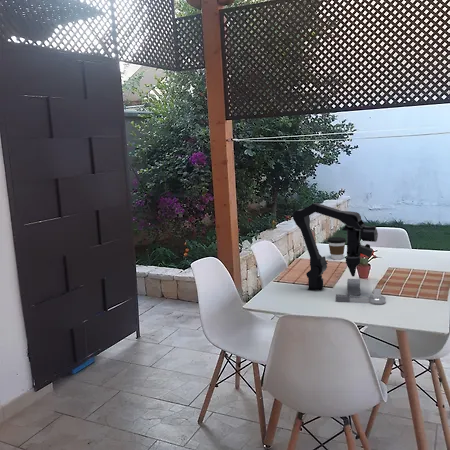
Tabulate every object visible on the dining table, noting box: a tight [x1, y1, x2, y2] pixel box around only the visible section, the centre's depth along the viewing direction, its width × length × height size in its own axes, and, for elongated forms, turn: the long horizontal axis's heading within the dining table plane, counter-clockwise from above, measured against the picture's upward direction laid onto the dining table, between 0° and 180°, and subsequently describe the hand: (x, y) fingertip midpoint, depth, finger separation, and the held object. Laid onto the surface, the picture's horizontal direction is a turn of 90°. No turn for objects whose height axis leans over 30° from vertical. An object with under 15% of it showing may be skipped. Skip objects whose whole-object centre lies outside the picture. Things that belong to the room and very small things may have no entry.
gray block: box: [346, 278, 361, 296], centre depth 215 cm, size 6×6×6 cm
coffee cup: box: [327, 236, 347, 261], centre depth 278 cm, size 11×11×12 cm
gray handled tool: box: [335, 288, 387, 306], centre depth 204 cm, size 21×7×6 cm, turn 74°
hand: (353, 273), depth 214 cm, fingers open, 9 cm apart
